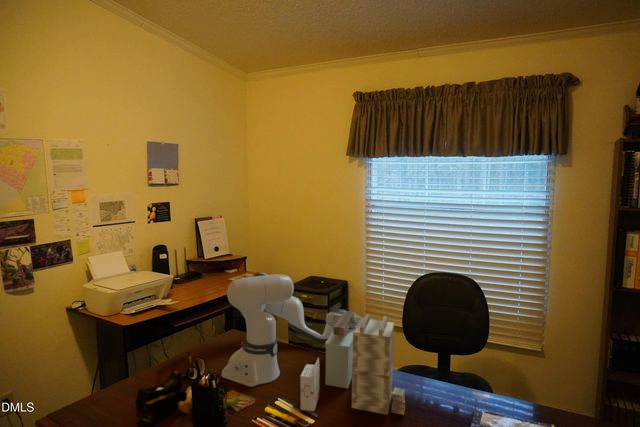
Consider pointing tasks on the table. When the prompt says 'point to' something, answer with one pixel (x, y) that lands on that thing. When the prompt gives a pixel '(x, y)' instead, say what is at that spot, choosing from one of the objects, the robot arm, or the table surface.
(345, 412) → the table surface
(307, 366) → the ink cartridge box
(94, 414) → the table surface
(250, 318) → the robot arm
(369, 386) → the birch rack
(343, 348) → the pale grey upright box
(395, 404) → the offcut stack
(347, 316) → the walnut strip
